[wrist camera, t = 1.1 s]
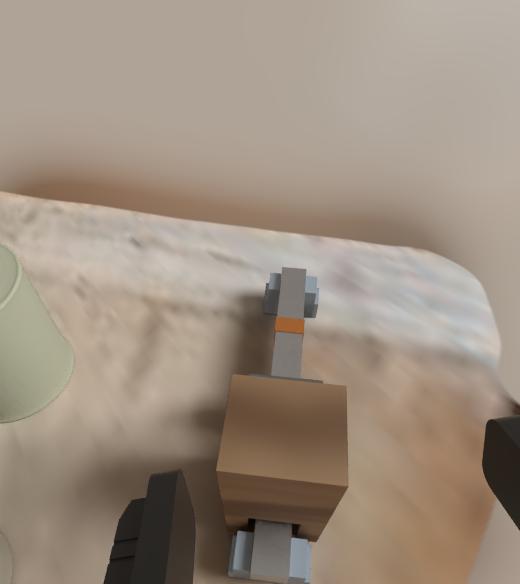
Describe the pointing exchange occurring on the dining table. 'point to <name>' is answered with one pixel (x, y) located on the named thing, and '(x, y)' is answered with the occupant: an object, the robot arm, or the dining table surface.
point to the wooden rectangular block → (283, 454)
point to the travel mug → (5, 561)
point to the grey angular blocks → (244, 540)
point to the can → (28, 345)
